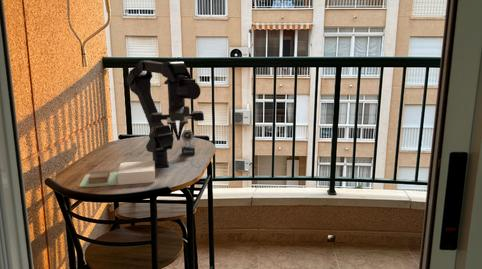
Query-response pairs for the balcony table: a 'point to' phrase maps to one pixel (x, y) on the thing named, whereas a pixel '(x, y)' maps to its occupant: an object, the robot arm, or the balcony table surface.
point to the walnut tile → (99, 176)
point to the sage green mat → (112, 181)
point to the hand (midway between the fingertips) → (178, 140)
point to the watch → (188, 143)
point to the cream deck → (136, 172)
